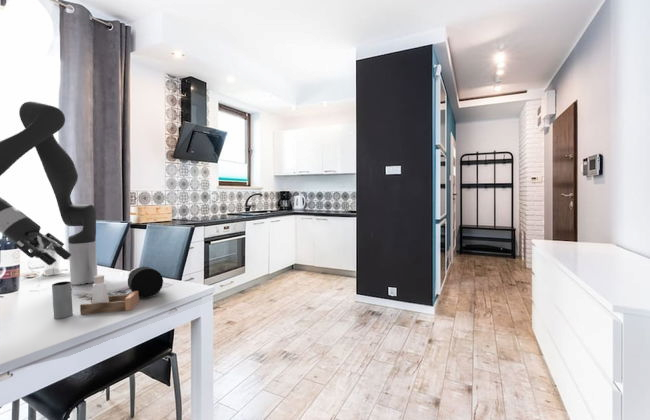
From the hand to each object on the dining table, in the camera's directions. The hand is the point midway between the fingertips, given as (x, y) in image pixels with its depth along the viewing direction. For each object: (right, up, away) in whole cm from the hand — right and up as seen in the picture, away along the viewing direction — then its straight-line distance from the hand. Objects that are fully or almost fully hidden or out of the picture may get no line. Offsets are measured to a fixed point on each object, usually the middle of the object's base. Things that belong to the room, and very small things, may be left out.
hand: (61, 260), depth 101 cm
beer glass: (-45, -14, +49) cm, 68 cm away
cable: (+10, -16, +26) cm, 32 cm away
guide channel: (+13, -16, +4) cm, 21 cm away
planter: (+3, -17, -2) cm, 17 cm away
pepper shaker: (+10, -17, +3) cm, 20 cm away
